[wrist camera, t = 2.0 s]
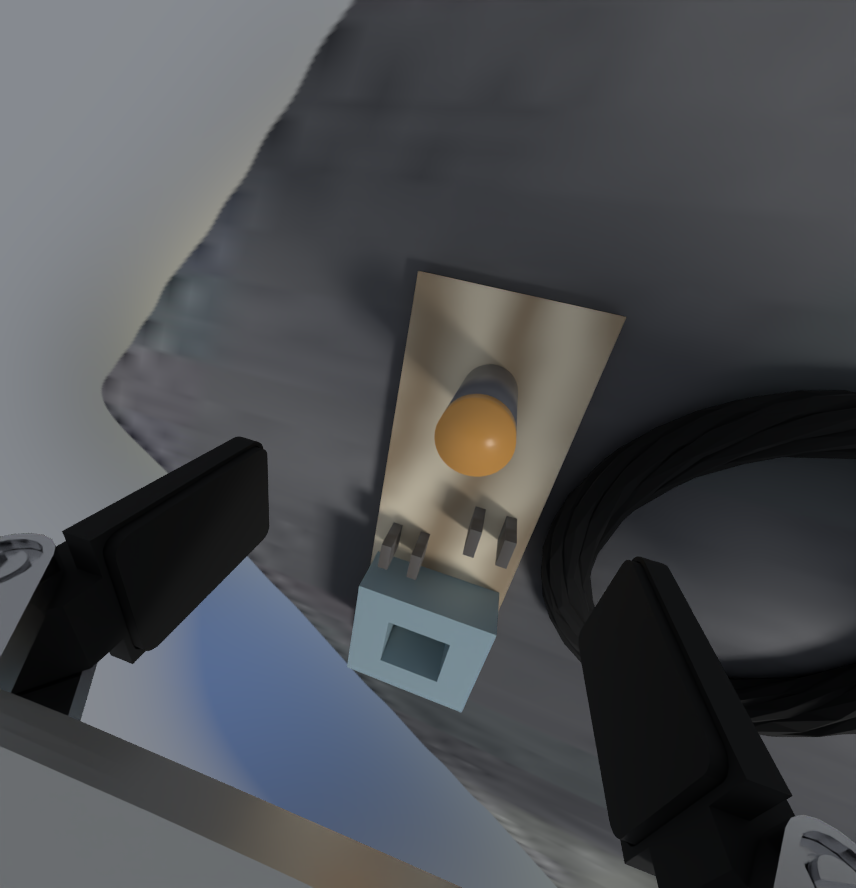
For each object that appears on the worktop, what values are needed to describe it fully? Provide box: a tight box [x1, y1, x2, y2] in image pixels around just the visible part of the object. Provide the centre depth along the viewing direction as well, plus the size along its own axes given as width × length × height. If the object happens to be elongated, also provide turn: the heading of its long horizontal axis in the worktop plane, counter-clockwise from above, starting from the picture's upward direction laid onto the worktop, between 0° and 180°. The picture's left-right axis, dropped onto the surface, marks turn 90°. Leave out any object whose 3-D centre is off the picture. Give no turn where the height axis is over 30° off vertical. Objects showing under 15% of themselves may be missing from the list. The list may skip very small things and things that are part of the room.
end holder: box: [347, 551, 499, 712], centre depth 30 cm, size 11×11×4 cm
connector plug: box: [434, 364, 518, 477], centre depth 19 cm, size 4×4×8 cm
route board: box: [370, 271, 626, 611], centre depth 27 cm, size 12×36×4 cm, turn 169°
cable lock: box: [541, 390, 856, 737], centre depth 23 cm, size 28×4×30 cm
